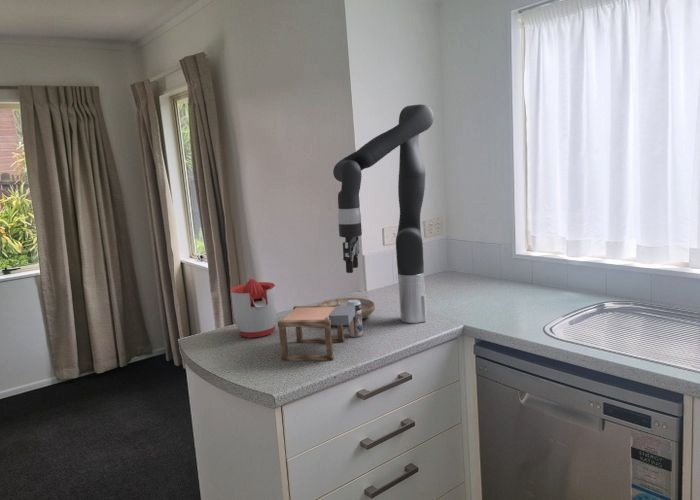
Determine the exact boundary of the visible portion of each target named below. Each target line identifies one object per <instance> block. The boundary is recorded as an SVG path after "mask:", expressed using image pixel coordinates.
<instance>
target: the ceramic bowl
mask: <svg viewBox="0 0 700 500" xmlns="http://www.w3.org/2000/svg"><path fill="white" fill-rule="evenodd" d="M354 299H357V300H359V301H360V303H361V313H362V320H363V319H365V318H367V317H368V316H370V315H371V314H373V313H374V311H375V310H376V304H375V302H374V301H373V300H371V299H367V298H361V297H340V298H339V297H338V298H333V299H328V300H325V301H321V302H319V303H317V304H316V305H315V306H328V305H336V304H337V303H338V302H339V303H340V305H342V306H347V302H348V301H349V300H354Z"/></svg>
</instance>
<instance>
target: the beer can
mask: <svg viewBox="0 0 700 500" xmlns="http://www.w3.org/2000/svg"><path fill="white" fill-rule="evenodd" d="M351 305H355V316H354V318H353V319H352V321H351V322H350V324H349V325H348V335H349V336H350V337H351V338H359V337H361V336H363V335H364V330H363V319H362V313H361V303H360V301H359V300H357V299H354V300H349V301H348V302H347V306H351Z"/></svg>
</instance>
